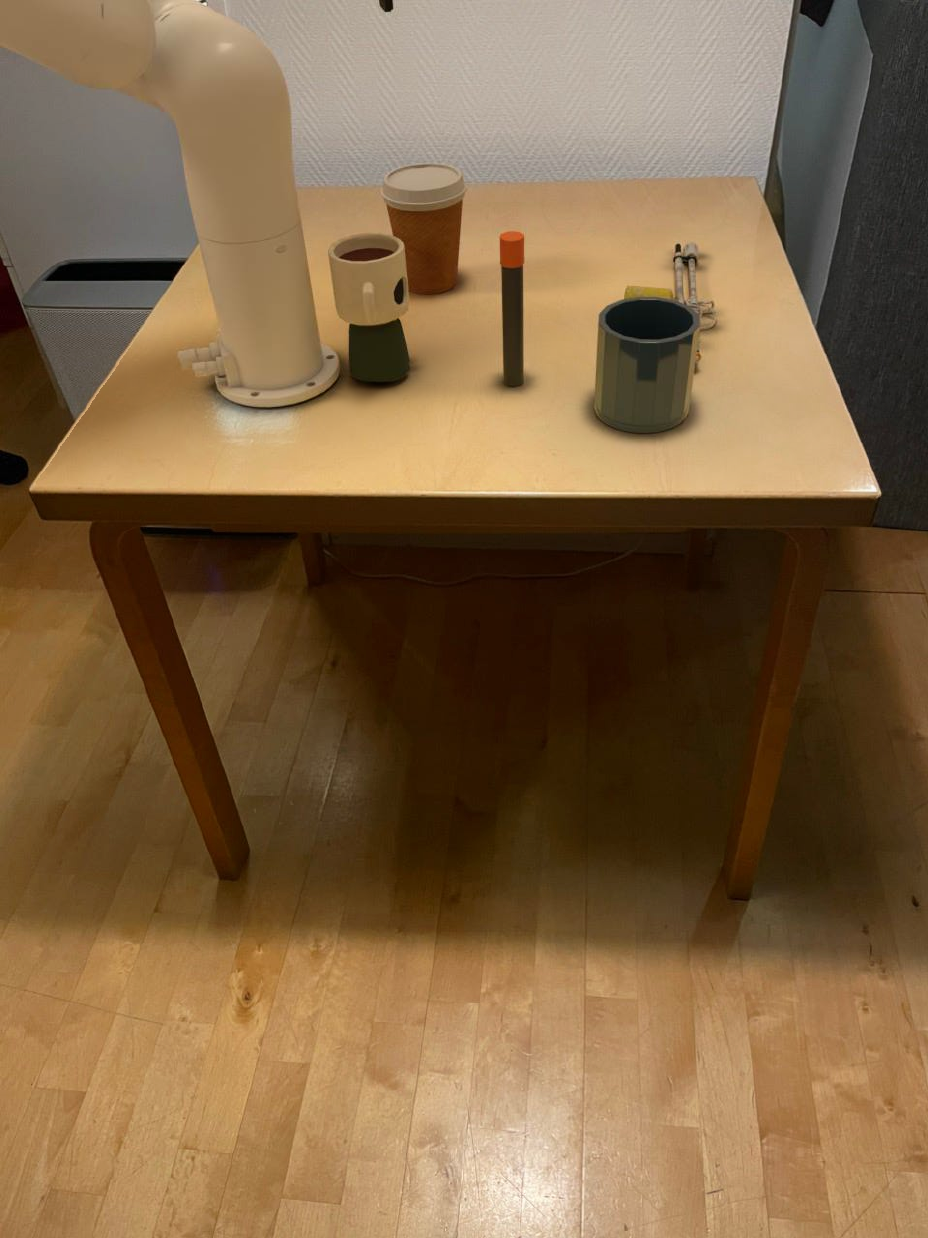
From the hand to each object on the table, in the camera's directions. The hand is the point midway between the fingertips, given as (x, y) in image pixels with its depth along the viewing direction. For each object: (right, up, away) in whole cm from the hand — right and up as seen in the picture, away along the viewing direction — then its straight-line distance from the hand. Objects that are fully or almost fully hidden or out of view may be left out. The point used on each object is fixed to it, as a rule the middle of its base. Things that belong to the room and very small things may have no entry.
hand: (440, 2), depth 85 cm
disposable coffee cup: (-2, -15, +29) cm, 33 cm away
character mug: (-6, -29, +14) cm, 33 cm away
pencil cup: (+19, -34, +7) cm, 39 cm away
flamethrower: (+25, -20, +22) cm, 38 cm away
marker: (+7, -30, +12) cm, 33 cm away
